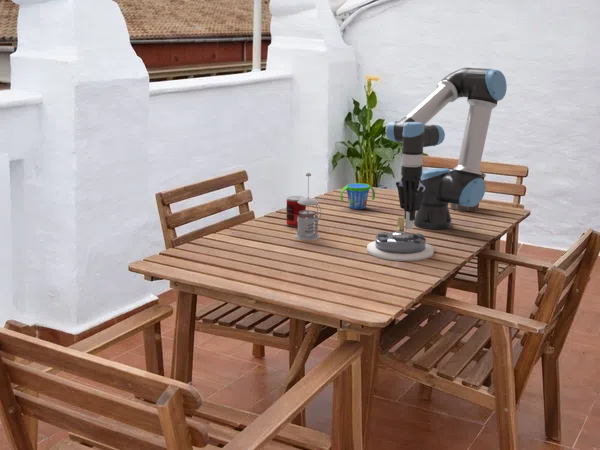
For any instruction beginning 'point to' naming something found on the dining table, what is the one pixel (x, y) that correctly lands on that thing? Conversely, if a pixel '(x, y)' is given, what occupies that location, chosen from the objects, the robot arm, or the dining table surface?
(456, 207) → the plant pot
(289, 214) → the canned food
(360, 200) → the snack cup
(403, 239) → the grey round piece
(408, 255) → the housing plate
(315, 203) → the french press
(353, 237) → the dining table surface
